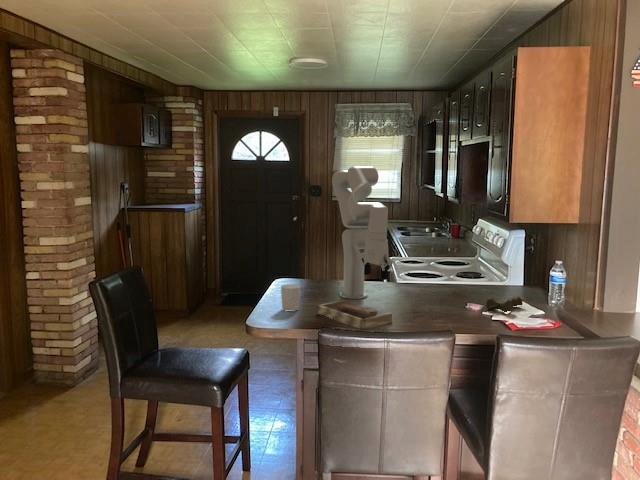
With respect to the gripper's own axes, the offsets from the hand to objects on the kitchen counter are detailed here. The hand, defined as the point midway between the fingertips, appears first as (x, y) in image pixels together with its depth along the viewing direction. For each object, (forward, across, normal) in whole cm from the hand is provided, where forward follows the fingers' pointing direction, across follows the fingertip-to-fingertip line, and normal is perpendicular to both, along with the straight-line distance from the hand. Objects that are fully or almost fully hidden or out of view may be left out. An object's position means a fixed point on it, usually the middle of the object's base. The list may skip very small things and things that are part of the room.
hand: (375, 277), depth 214 cm
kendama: (+14, +33, +44) cm, 57 cm away
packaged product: (+15, +3, -12) cm, 20 cm away
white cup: (+16, -23, -26) cm, 38 cm away
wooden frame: (+14, +2, -13) cm, 19 cm away
